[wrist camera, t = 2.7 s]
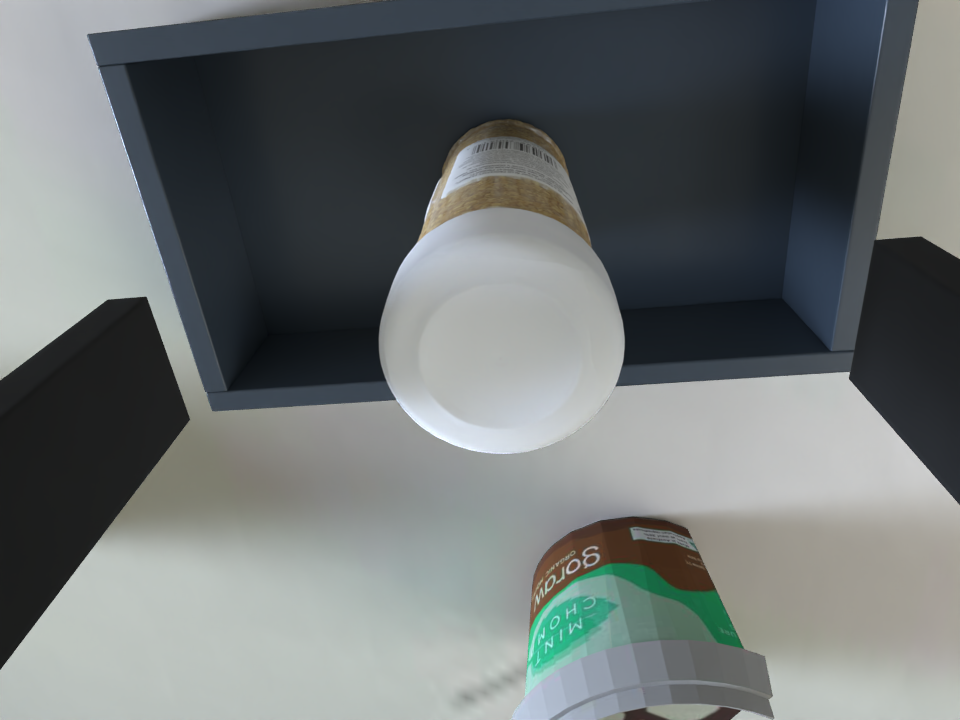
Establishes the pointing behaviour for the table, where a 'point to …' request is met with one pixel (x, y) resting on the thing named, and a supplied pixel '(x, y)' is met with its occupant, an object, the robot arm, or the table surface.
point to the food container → (634, 632)
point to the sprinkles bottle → (502, 302)
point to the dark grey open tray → (547, 106)
